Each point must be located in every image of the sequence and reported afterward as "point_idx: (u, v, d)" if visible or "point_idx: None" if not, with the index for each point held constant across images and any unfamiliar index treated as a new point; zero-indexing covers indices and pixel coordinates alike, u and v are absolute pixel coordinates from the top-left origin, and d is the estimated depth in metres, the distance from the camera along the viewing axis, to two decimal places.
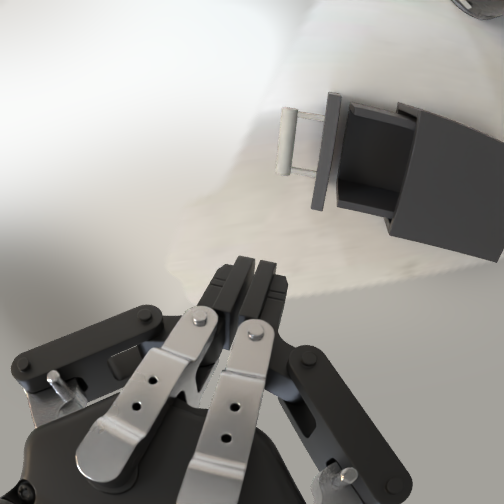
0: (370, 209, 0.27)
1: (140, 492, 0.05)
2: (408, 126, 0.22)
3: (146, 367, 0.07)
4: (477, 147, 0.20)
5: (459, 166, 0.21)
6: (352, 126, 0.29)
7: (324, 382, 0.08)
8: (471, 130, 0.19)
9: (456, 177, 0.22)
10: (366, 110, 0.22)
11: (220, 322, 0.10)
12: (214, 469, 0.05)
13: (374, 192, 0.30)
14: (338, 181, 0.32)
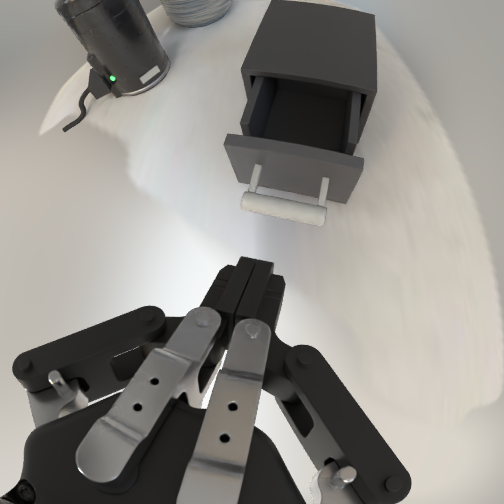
0: (354, 112, 0.23)
1: (140, 492, 0.05)
2: (259, 82, 0.24)
3: (148, 368, 0.07)
4: (270, 32, 0.24)
5: (290, 42, 0.24)
6: None
7: (321, 382, 0.08)
8: (255, 37, 0.24)
9: (301, 43, 0.24)
10: (244, 113, 0.24)
11: (223, 323, 0.10)
12: (214, 469, 0.05)
13: (344, 130, 0.27)
14: None
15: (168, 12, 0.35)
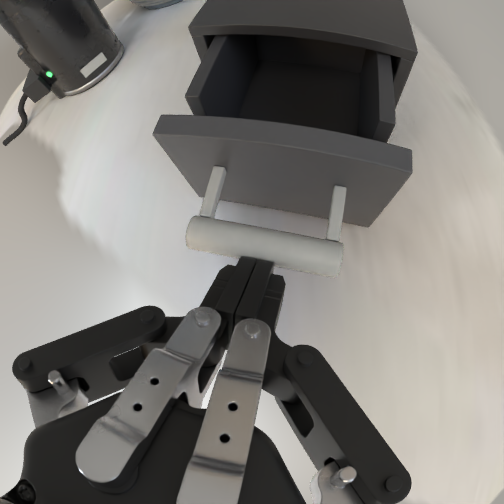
0: (383, 73, 0.12)
1: (140, 492, 0.05)
2: (223, 35, 0.14)
3: (148, 368, 0.07)
4: None
5: None
6: None
7: (321, 381, 0.08)
8: None
9: None
10: (193, 81, 0.13)
11: (223, 323, 0.10)
12: (214, 469, 0.05)
13: (363, 110, 0.16)
14: None
15: None
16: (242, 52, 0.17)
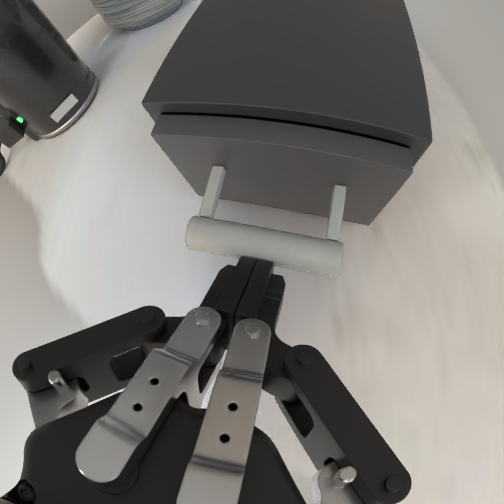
0: None
1: (140, 492, 0.05)
2: None
3: (148, 368, 0.07)
4: (211, 19, 0.12)
5: (247, 32, 0.12)
6: None
7: (321, 381, 0.08)
8: (183, 32, 0.12)
9: (269, 33, 0.12)
10: None
11: (223, 323, 0.10)
12: (214, 469, 0.05)
13: None
14: None
15: (101, 14, 0.23)
16: None
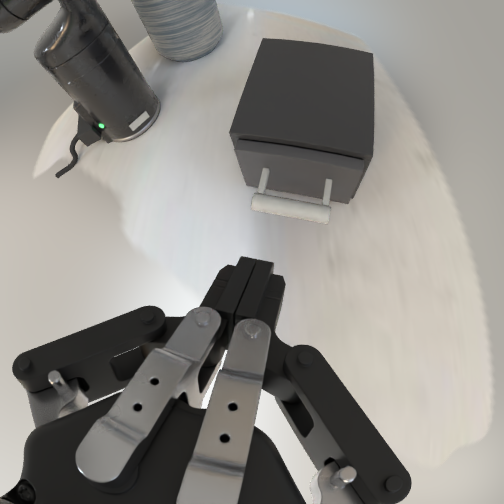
0: None
1: (140, 492, 0.05)
2: None
3: (148, 368, 0.07)
4: (260, 83, 0.26)
5: (282, 95, 0.25)
6: None
7: (321, 381, 0.08)
8: (245, 89, 0.26)
9: (294, 97, 0.25)
10: None
11: (223, 323, 0.10)
12: (214, 469, 0.05)
13: None
14: None
15: (156, 47, 0.36)
16: None
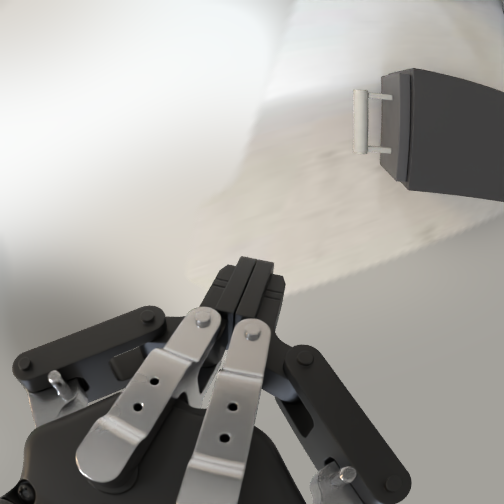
0: None
1: (140, 492, 0.05)
2: None
3: (148, 368, 0.07)
4: (468, 94, 0.20)
5: (457, 113, 0.21)
6: None
7: (321, 381, 0.08)
8: (460, 79, 0.19)
9: (456, 124, 0.22)
10: None
11: (223, 323, 0.10)
12: (214, 469, 0.05)
13: None
14: None
15: None
16: None
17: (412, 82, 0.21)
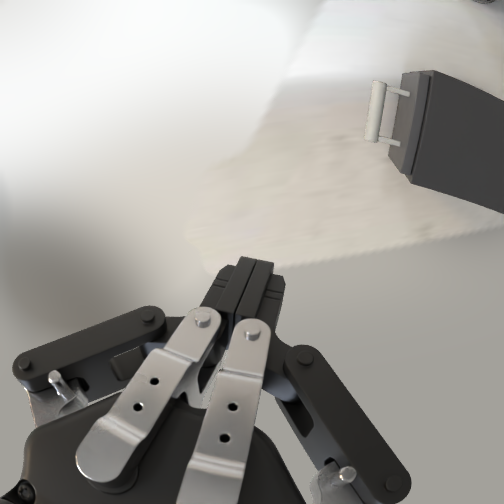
0: None
1: (140, 492, 0.05)
2: None
3: (148, 368, 0.07)
4: (484, 104, 0.20)
5: (469, 120, 0.21)
6: None
7: (321, 381, 0.08)
8: (477, 89, 0.19)
9: (467, 130, 0.22)
10: None
11: (223, 323, 0.10)
12: (214, 469, 0.05)
13: None
14: None
15: None
16: None
17: (430, 83, 0.21)
